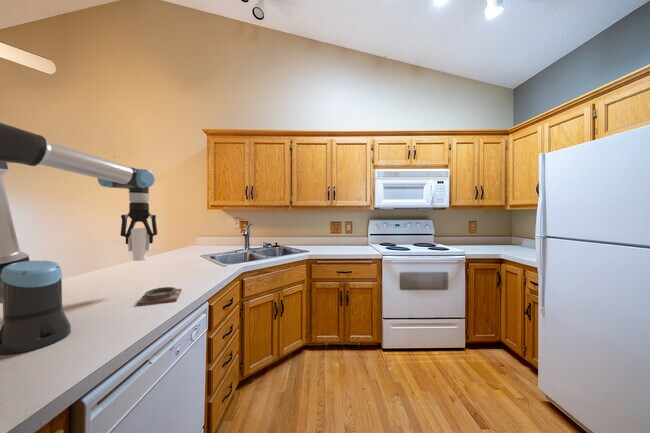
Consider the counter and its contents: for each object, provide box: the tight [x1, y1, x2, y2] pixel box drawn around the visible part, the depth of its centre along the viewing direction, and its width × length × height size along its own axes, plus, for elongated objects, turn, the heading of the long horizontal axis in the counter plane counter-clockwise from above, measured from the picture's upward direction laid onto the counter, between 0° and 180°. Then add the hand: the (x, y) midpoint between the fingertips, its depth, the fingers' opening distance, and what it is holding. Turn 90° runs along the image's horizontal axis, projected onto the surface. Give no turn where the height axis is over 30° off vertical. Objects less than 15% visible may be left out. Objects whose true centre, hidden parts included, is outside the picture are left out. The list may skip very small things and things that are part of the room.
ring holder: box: [136, 286, 182, 307], centre depth 112 cm, size 14×14×3 cm
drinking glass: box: [130, 227, 149, 262], centre depth 120 cm, size 7×7×15 cm
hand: (139, 250), depth 120 cm, fingers closed on drinking glass, 7 cm apart
